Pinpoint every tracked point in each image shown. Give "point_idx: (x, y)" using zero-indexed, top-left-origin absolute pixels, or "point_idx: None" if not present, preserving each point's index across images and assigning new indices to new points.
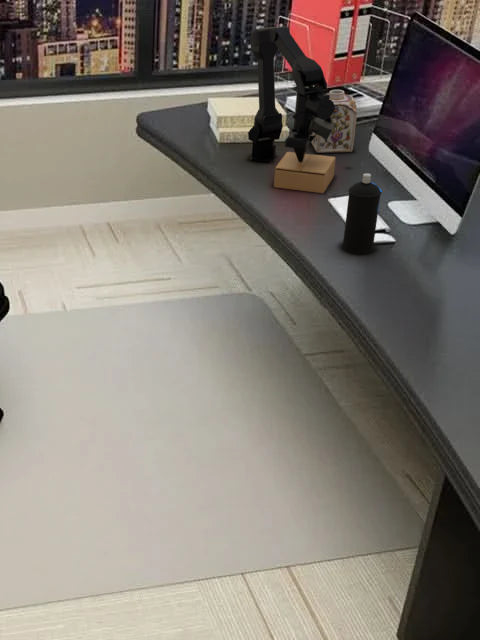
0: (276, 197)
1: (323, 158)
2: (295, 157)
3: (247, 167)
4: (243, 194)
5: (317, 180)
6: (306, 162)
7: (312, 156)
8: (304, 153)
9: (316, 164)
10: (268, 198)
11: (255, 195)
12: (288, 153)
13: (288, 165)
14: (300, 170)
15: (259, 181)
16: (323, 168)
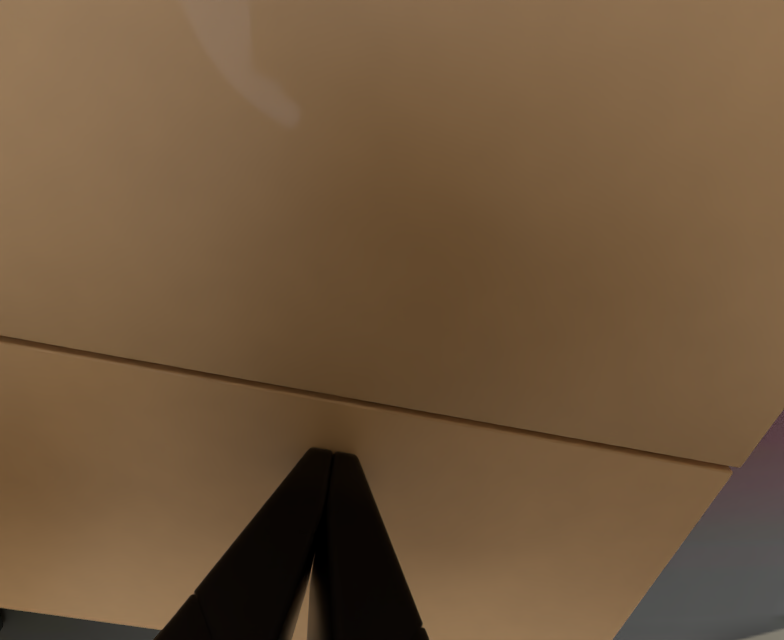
0: (772, 465)
1: (19, 52)
2: (170, 529)
3: (143, 631)
4: (664, 635)
5: None
6: (363, 391)
7: (7, 300)
8: (368, 587)
9: (461, 216)
10: (780, 513)
11: (696, 582)
12: (44, 595)
13: (516, 591)
14: (737, 462)
15: None
16: (741, 39)
